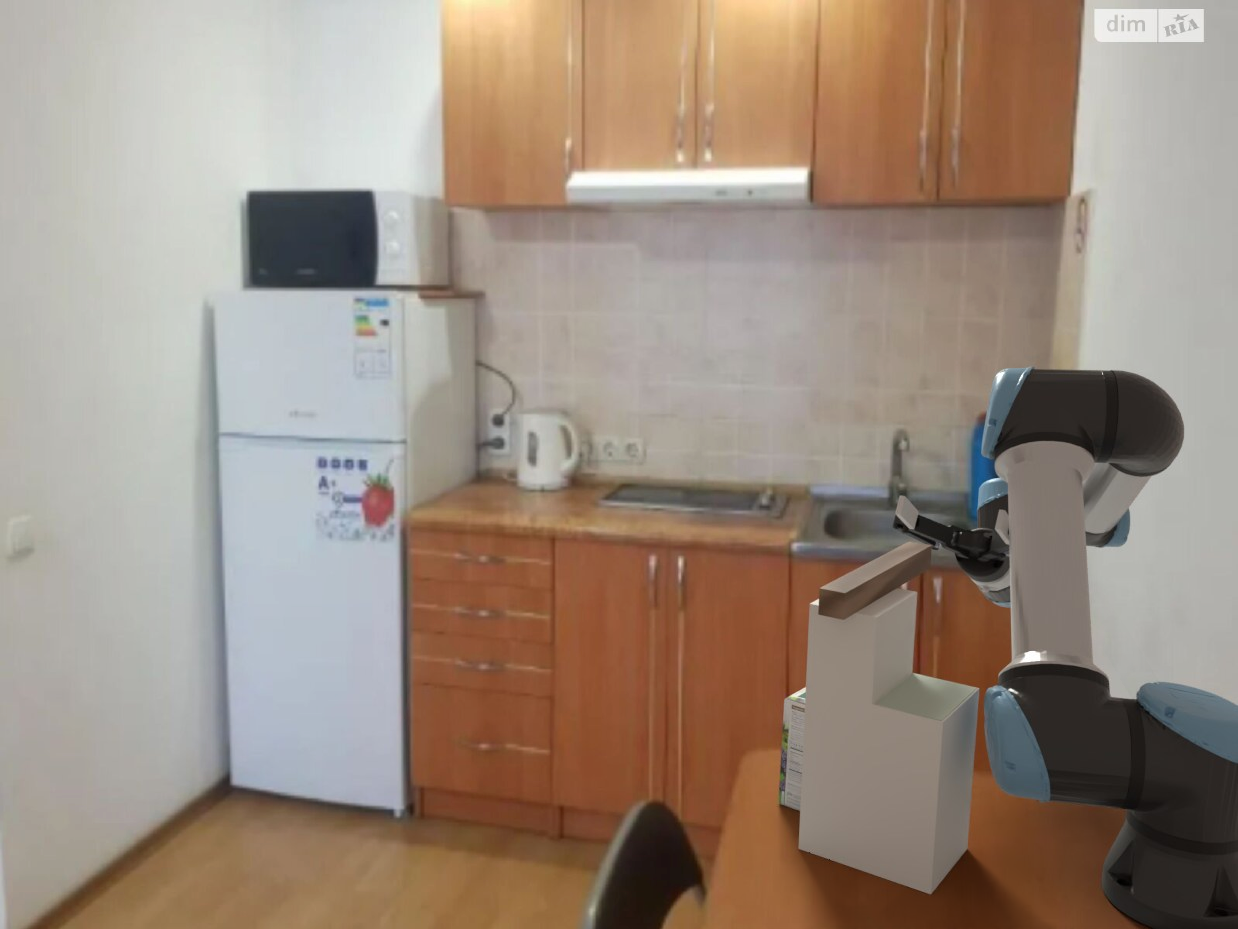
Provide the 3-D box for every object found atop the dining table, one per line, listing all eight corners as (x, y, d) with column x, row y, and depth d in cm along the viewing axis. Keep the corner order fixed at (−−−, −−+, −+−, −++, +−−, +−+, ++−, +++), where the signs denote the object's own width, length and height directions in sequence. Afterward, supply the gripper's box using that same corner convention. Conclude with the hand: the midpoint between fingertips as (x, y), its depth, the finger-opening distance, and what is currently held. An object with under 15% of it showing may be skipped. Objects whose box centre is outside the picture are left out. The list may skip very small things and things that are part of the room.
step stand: (967, 849, 132) (985, 604, 126) (930, 894, 122) (949, 632, 116) (841, 809, 141) (853, 580, 135) (798, 848, 131) (809, 603, 126)
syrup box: (800, 788, 146) (805, 683, 144) (840, 802, 143) (846, 695, 140) (777, 804, 142) (781, 696, 139) (818, 819, 138) (823, 708, 136)
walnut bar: (930, 568, 141) (931, 545, 140) (843, 620, 120) (845, 593, 120) (907, 564, 143) (908, 541, 142) (818, 614, 122) (819, 588, 121)
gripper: (1069, 598, 158) (1038, 553, 141) (900, 568, 172) (854, 524, 155) (1080, 548, 159) (1050, 498, 143) (912, 522, 174) (868, 474, 157)
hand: (948, 511), depth 149 cm, fingers open, 13 cm apart
